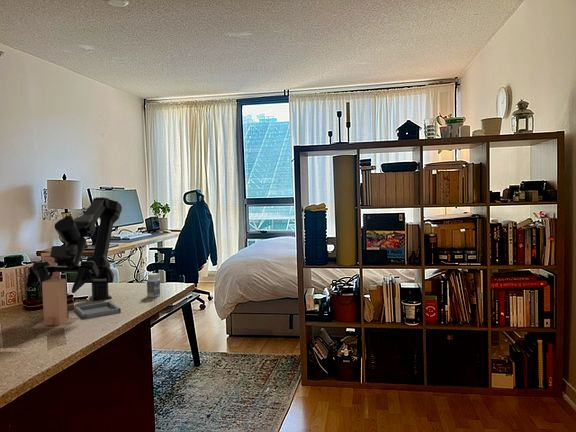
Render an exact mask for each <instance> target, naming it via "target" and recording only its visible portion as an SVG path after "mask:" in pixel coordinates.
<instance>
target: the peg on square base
mask: <svg viewBox="0 0 576 432" xmlns="http://www.w3.org/2000/svg"><path fill="white" fill-rule="evenodd" d="M67 319H68V320H67V321H66V322H64V323H62V324H61V325H44V320H42V321H40V322H39V323H37V324H35V325H33V326H32V327H29V330H30V329H31V330H32V329H65V328H67V327H69V326H71V325H72V324H73V323H74V322H77V321H78V320H80V317H67Z"/></svg>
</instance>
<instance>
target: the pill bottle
mask: <svg viewBox="0 0 576 432" xmlns="http://www.w3.org/2000/svg"><path fill="white" fill-rule="evenodd" d="M159 276H160V273H158V272H157V273H156V272H154V273H153V272H151V273H147V279H146V292H147V297H149V298H156V297H159V296H161V279H160V277H159Z"/></svg>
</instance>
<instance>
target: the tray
mask: <svg viewBox="0 0 576 432" xmlns="http://www.w3.org/2000/svg"><path fill="white" fill-rule="evenodd" d="M75 312H76V313H77V314H79V316H81V318H82V319H83V320H85V319H92V318H97V317H102V316H108V315H114V314H120V313H122V312H121V307H119V306H117V305H116V304H115V303H114V302H112V301H103V302H98V303H91V304H84V305H80V306H79V305H78V306H75Z"/></svg>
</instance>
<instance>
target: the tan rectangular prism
mask: <svg viewBox="0 0 576 432" xmlns="http://www.w3.org/2000/svg"><path fill="white" fill-rule="evenodd" d="M42 291H43V294H42V306H43V307H42V309H43V321H44V325H61V324H62V323H64V322H66V321H67V320H68V319H67V318H68V302H67V301H68V300H67V278H51V279H49V280H46V281H44V282H42Z"/></svg>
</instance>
